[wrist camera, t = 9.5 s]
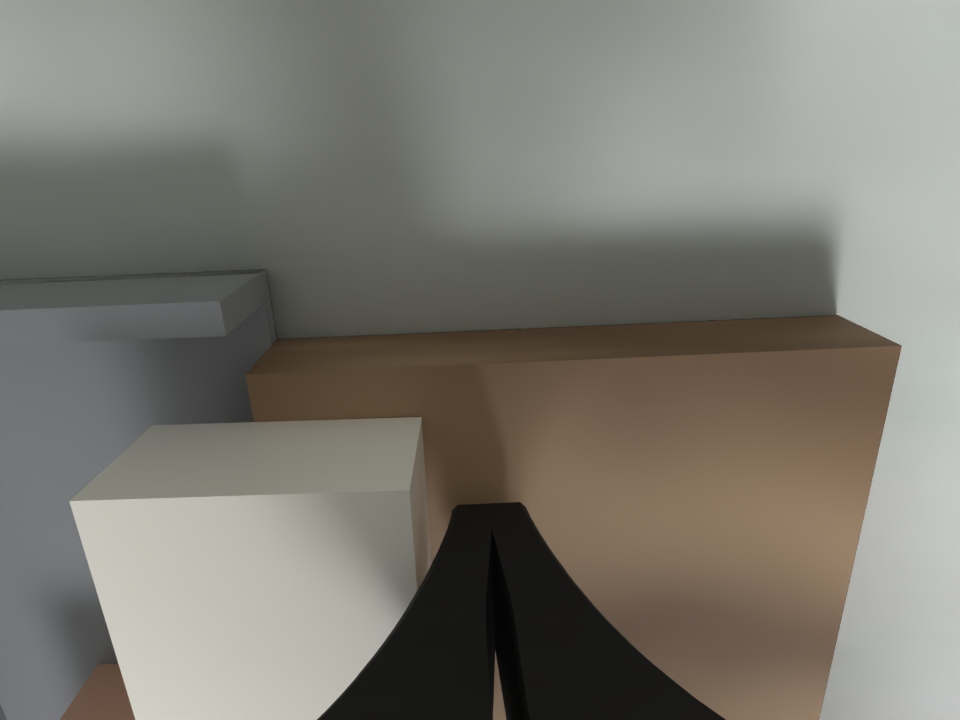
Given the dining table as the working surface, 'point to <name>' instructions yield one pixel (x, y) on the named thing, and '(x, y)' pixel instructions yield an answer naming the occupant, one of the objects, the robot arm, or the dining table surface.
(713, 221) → the dining table surface
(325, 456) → the tile cream
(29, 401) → the tray
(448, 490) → the board
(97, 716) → the tile terracotta
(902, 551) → the dining table surface
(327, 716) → the robot arm
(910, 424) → the dining table surface
